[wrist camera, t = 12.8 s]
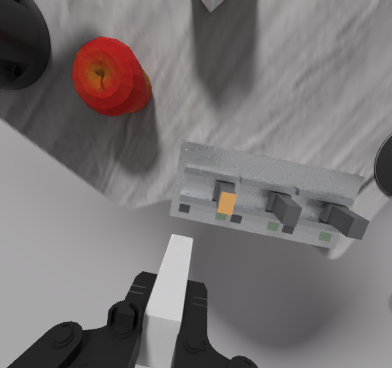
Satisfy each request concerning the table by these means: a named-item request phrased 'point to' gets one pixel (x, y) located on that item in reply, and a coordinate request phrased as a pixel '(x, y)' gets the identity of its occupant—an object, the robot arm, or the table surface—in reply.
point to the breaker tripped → (224, 196)
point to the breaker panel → (260, 192)
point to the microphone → (384, 166)
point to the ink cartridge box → (212, 4)
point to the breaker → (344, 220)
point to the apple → (110, 77)
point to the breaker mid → (284, 208)
